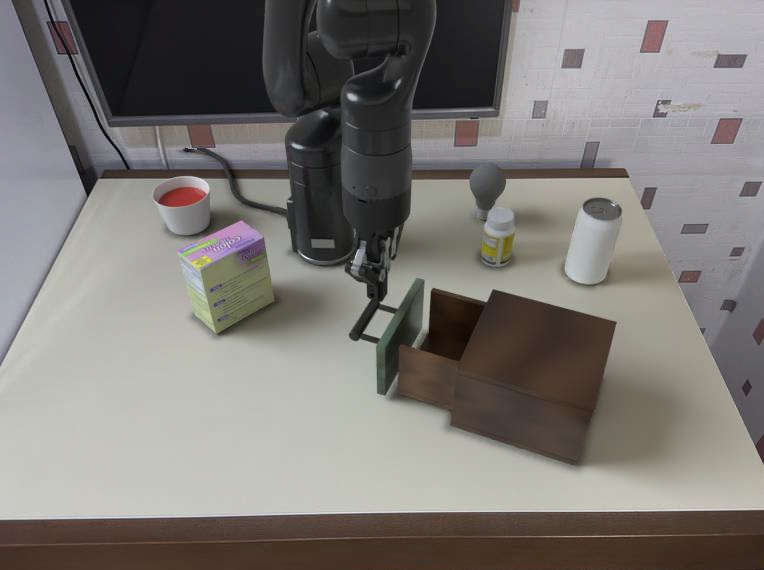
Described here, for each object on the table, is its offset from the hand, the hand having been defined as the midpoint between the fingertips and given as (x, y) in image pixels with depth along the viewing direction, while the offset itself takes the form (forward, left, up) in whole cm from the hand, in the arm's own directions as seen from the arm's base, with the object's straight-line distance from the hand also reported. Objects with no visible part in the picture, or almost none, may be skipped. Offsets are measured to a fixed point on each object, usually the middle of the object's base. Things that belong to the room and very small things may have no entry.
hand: (377, 296), depth 84 cm
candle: (-41, +16, -11) cm, 46 cm away
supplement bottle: (+9, +27, -11) cm, 31 cm away
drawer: (+7, 0, -10) cm, 12 cm away
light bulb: (+4, +37, -11) cm, 39 cm away
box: (-23, +1, -11) cm, 26 cm away
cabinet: (+21, 0, -11) cm, 24 cm away
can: (+23, +29, -11) cm, 39 cm away
